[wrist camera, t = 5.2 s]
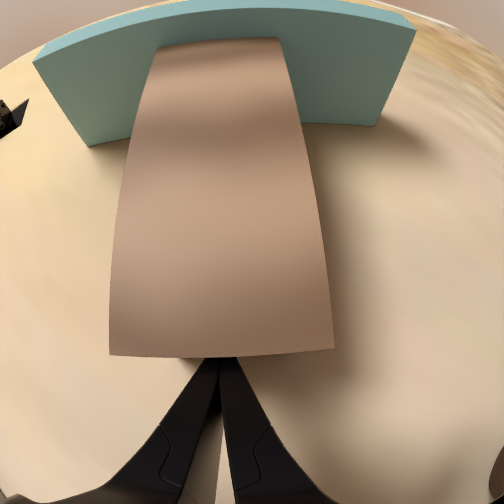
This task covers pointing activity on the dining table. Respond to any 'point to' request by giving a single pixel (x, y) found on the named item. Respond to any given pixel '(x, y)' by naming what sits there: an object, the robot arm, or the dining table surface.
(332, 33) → the teal board
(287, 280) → the walnut block
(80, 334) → the dining table surface
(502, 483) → the plant pot
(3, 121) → the black block on plate
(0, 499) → the digital clock
